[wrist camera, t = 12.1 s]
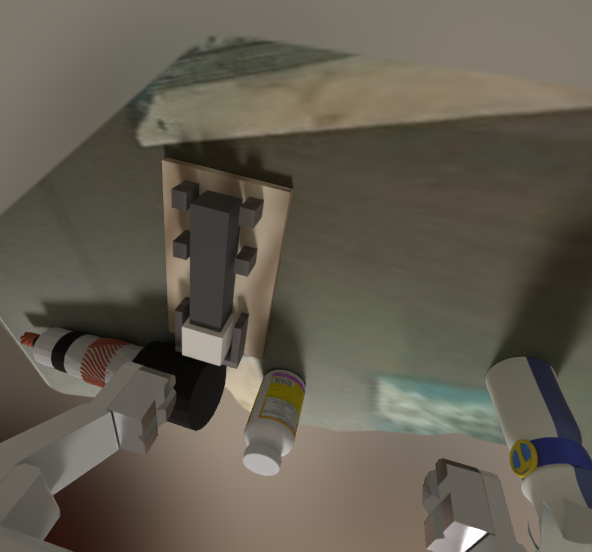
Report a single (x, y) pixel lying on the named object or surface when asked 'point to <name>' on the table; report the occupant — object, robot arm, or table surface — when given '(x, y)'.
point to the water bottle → (545, 451)
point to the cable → (156, 355)
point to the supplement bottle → (273, 421)
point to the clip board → (251, 250)
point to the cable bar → (212, 276)
